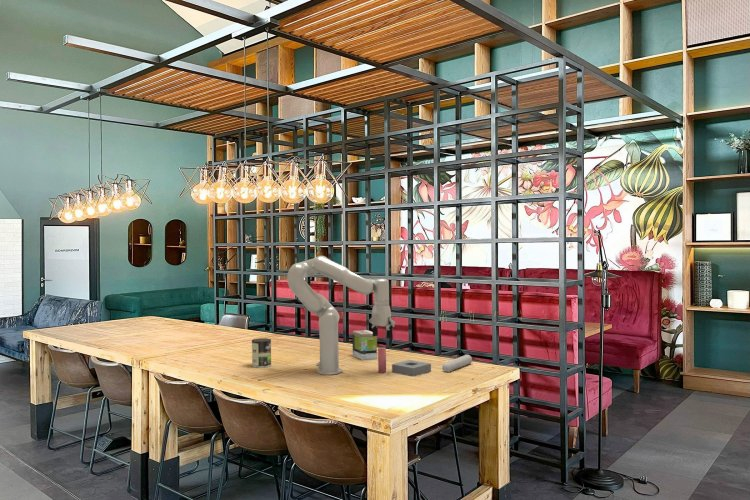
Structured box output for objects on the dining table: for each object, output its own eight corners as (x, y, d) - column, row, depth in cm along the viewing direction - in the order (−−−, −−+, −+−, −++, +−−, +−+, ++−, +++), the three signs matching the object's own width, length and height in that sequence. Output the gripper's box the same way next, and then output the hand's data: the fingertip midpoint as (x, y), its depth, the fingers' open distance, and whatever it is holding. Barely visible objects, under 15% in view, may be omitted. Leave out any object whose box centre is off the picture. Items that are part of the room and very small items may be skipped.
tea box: (377, 359, 326) (377, 332, 325) (361, 360, 322) (360, 334, 322) (368, 354, 340) (367, 329, 339) (352, 355, 336) (351, 330, 336)
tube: (450, 365, 288) (473, 357, 308) (441, 361, 291) (464, 352, 311) (447, 375, 289) (470, 366, 309) (438, 370, 292) (462, 361, 312)
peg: (376, 372, 293) (376, 348, 293) (382, 370, 296) (381, 347, 296) (382, 373, 290) (382, 349, 290) (387, 371, 293) (387, 348, 293)
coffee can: (274, 364, 316) (273, 338, 315) (267, 368, 305) (266, 341, 305) (256, 363, 318) (256, 337, 317) (248, 367, 307) (248, 341, 307)
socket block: (392, 372, 292) (392, 364, 292) (409, 367, 303) (409, 359, 303) (413, 376, 283) (413, 368, 283) (430, 371, 293) (430, 363, 293)
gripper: (364, 303, 296) (364, 336, 296) (389, 305, 284) (389, 339, 284) (374, 301, 301) (374, 334, 301) (399, 303, 289) (399, 337, 289)
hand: (382, 336), depth 293 cm, fingers open, 9 cm apart
